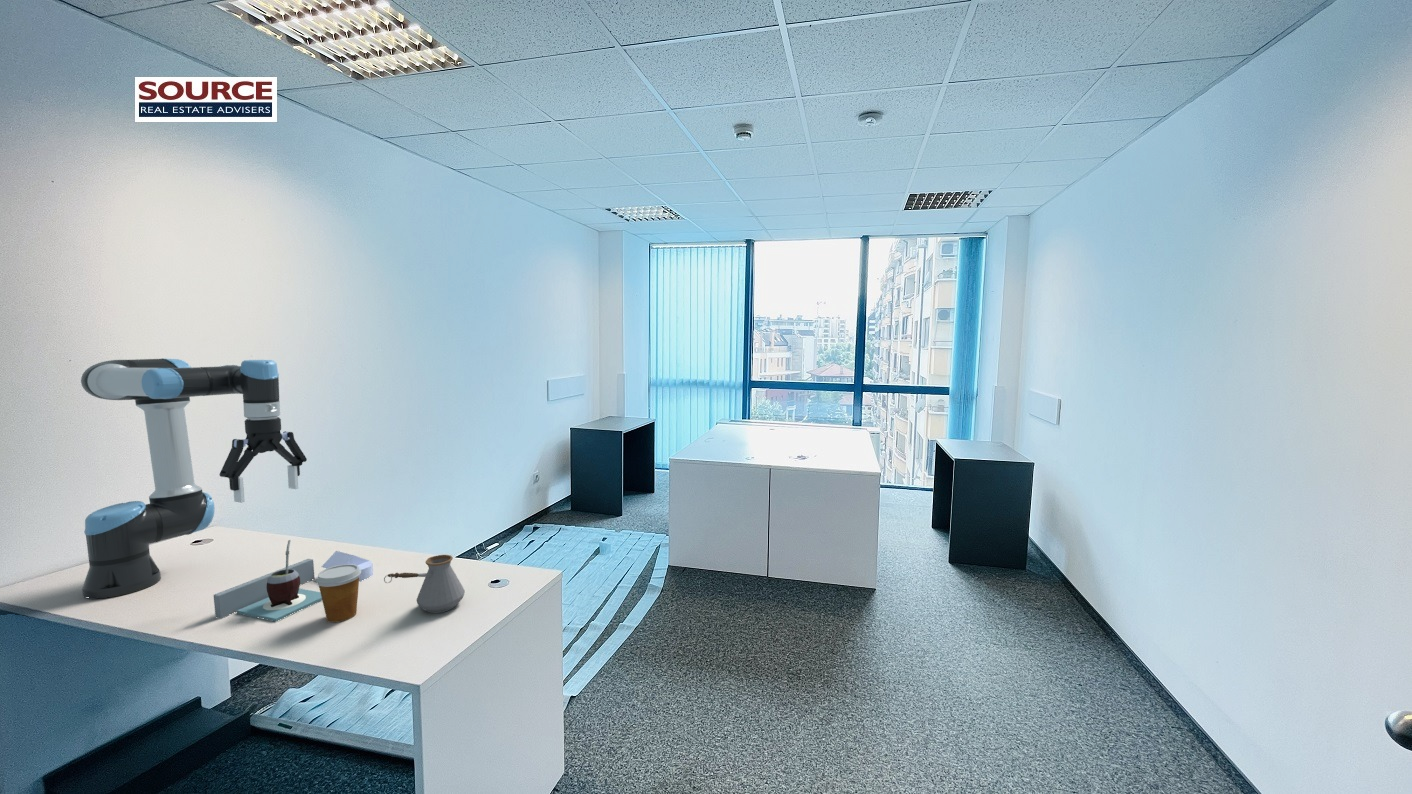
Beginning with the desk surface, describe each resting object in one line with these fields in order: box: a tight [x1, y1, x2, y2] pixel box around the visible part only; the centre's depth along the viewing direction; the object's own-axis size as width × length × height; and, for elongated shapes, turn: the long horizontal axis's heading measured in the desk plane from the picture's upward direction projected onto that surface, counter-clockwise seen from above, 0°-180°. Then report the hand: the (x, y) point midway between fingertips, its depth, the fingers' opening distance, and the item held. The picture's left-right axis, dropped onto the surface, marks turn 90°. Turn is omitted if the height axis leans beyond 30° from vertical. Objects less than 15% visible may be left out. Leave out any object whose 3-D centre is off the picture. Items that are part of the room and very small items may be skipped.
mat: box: [236, 587, 322, 622], centre depth 143 cm, size 14×14×1 cm
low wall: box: [212, 558, 316, 619], centre depth 147 cm, size 2×24×6 cm, turn 163°
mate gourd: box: [267, 539, 301, 607], centre depth 142 cm, size 8×8×15 cm
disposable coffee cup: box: [315, 564, 361, 623], centre depth 137 cm, size 10×10×12 cm
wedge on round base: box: [321, 550, 374, 582], centre depth 161 cm, size 9×7×13 cm
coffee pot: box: [383, 554, 466, 614], centre depth 137 cm, size 21×12×15 cm, turn 161°
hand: (267, 494), depth 146 cm, fingers open, 13 cm apart
